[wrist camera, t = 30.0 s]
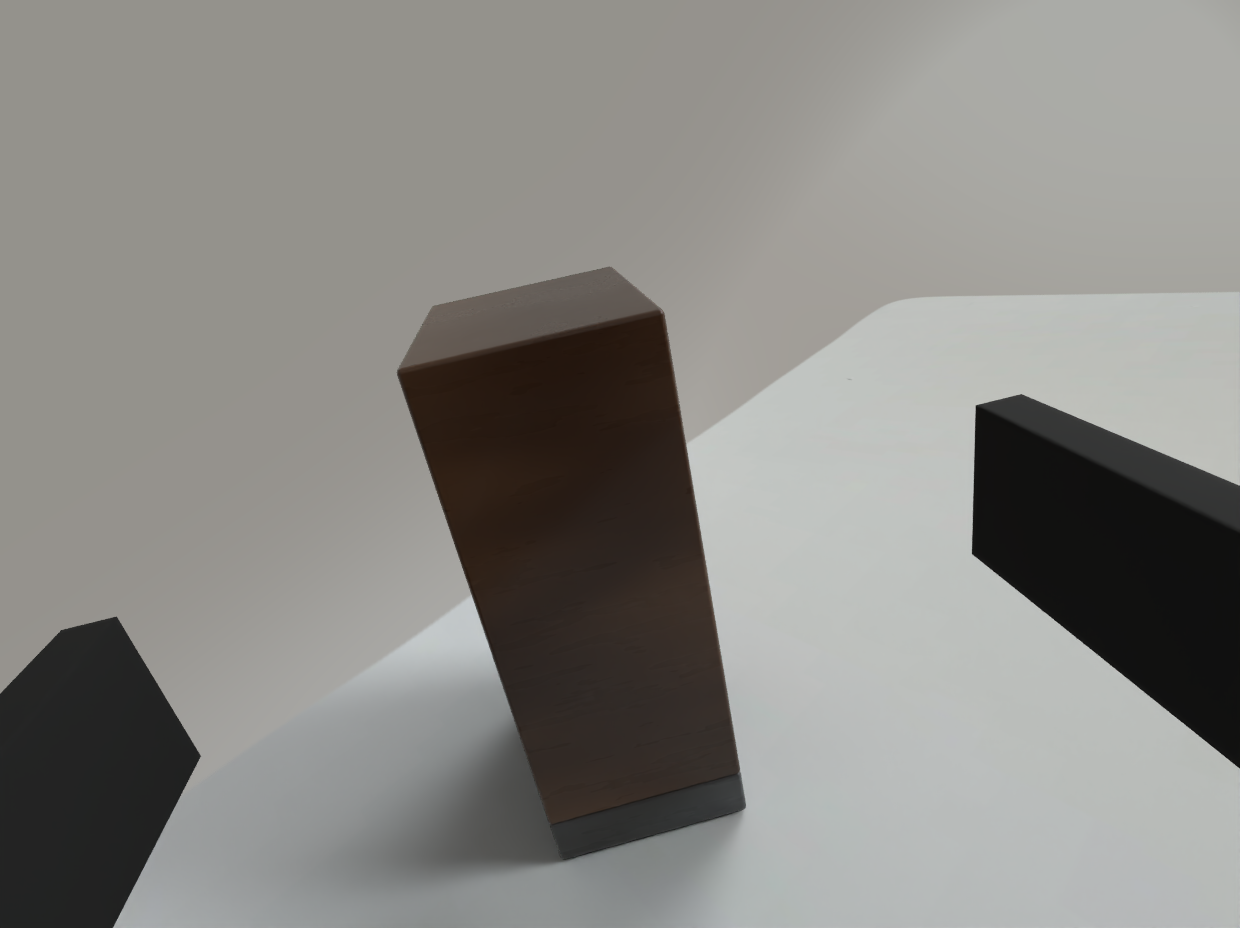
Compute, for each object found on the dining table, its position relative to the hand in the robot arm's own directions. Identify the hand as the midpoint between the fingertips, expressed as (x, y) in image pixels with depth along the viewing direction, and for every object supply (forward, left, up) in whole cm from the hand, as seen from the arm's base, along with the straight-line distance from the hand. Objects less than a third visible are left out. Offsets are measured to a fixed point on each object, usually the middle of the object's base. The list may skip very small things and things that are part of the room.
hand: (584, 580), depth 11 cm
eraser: (-1, +5, -9) cm, 10 cm away
